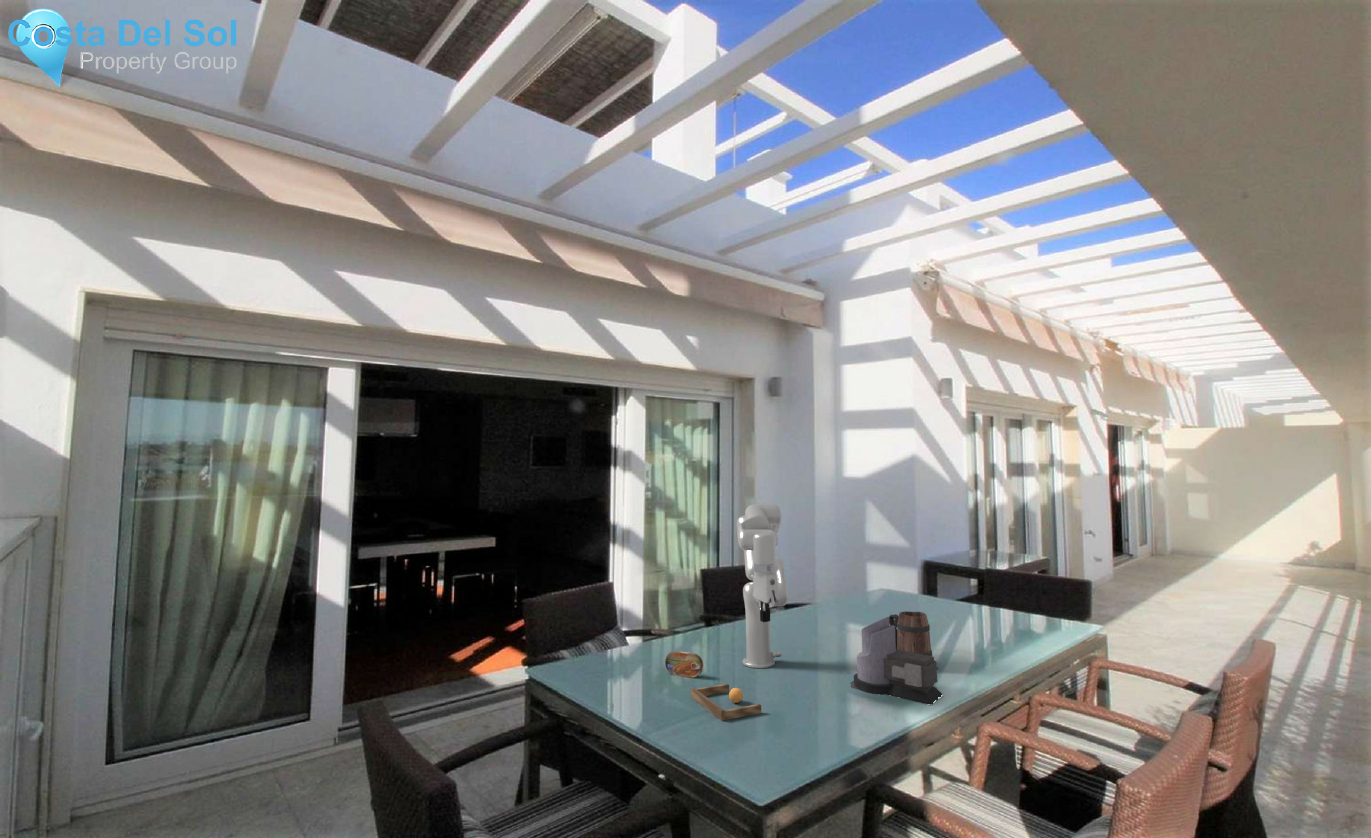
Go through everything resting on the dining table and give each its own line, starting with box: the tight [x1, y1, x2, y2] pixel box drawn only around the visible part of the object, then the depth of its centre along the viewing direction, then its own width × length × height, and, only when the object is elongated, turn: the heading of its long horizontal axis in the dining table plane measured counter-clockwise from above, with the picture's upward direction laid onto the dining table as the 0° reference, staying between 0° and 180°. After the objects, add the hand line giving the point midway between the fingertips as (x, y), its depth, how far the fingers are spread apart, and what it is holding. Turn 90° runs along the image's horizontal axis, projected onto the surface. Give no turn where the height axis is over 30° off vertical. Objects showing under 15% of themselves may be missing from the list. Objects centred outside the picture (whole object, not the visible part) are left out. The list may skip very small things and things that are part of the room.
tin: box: [664, 650, 704, 679], centre depth 231 cm, size 15×3×8 cm, turn 62°
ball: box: [728, 687, 744, 704], centre depth 203 cm, size 4×4×4 cm
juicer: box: [849, 616, 943, 705], centre depth 214 cm, size 30×16×24 cm, turn 49°
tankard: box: [888, 610, 939, 671], centre depth 242 cm, size 24×17×20 cm
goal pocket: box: [690, 683, 762, 722], centre depth 200 cm, size 14×22×3 cm, turn 24°
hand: (765, 621), depth 217 cm, fingers closed
